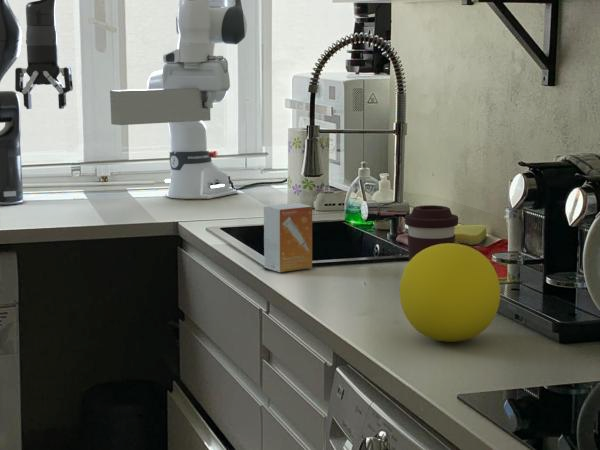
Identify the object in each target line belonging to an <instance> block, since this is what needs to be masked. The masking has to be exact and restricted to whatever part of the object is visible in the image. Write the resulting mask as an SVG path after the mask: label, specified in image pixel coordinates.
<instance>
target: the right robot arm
mask: <svg viewBox="0 0 600 450" xmlns="http://www.w3.org/2000/svg"><path fill="white" fill-rule="evenodd" d="M242 4H243V3H242V0H178V7H177V16H176V17H175V24H176V26H175V27H176V28H175V29H176V35H177V36H178V42H177V46H176V47H177V48H176V49H174V50H172V51H170V52H168V53H165V54H163V56H162V61H163V63H164V64H163V66H162V69H161V70H156V71H153V72H152V73H151V74H150V76H149V77H148V80H147V83H146V87H147V88H146V89H177V88H198V89H199V91H207V95H209V97H208V100H207V102H204V104H205V108H210V109H213V107H214V105H215V104H220V103H222V102H223V101H224V100H225V98H226V96H227V94H228V91H229V89H230V88H231V81H230V80H231V79H230V72H229V62H228V60H227V59H226V57H224V56H223V55H214V51H215V45H216V44H226V45H238V44H240V43H241V42H242V41H243V40H244V39H245V38H246V35H247V29H248V24H247V18H246V15H245V13H244V10H243V5H242ZM167 124H168V129H169V138H170V141H169V142H170V150H169V165H170V176H169V178H167V179H164V182H165V183H169V184H168V189H167V194H166V197H168V198H172V199H186V200H189V199H190V200H191V199H195V200H196V199H201V200H202V199H215V198H219V197H224V196H229V195H234V194H238V191H241V190H244V189H247V188H251V187H255V186H260V185H280V184H281V185H282V184H285V183H287V182H288V181H287V178H285V179H284V180H280V181H279V180H278V181H259V182H253V183H249V184H245V185H243V186H241V187H235V185H234V183H233V181H232V180H231V176H230V175H228V174H227V173H226V172H225V171H224V170H222V168H220V167H218V166H217V165H216V163H214V162H213V161H212V158H214V159H216V158H217V157H218V155H219V154H218V151H216V150H210V151H209V150H208V144H207V137H208V136H207V126H206V124H205V123H204V121H190V122H171V123H167ZM230 186H231V188H230Z"/></svg>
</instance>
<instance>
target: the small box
mask: <svg viewBox="0 0 600 450" xmlns="http://www.w3.org/2000/svg"><path fill="white" fill-rule="evenodd" d="M263 248H264V249H263V257H264V258H263V259H264V266H263V267H264V268H266V269H267V270H270V271H274V272H278V273H285V272H290V271H291V272H292V271H298V270H299V271H300V270H307V269H308V270H309V269H312V268H313V206H312V205H308V204H303V203H299V202H291V203H279V204H278V203H277V204H273V205H264V206H263Z"/></svg>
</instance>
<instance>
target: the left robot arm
mask: <svg viewBox="0 0 600 450" xmlns="http://www.w3.org/2000/svg"><path fill="white" fill-rule="evenodd" d="M56 1H57V0H34V1H30V2H27V4H26V5H25V19H26V23H25V24H26V30H25V31H26V33H25V34H26V35H25V44H26V59H27V61H26V62H27V67H26V68H24V67H16V68H15V69H14V72H15V73H14V79H15V80H14V81H15V82H14V88H15V89H14V90H15V91H14V90H0V123H1V124H3V123H4V127H3V128H2V129H0V206H11V205H21V204H23V203H24V202H25V201H24V187H23V170H22V169H23V168H22V167H23V166H22V151H21V136H22V135H21V131H22V130H21V101H20V97H19V95H18V93H21V94H22V96H23V106H24V108H26V110H32V109H33V107H32V106H33V105H32V94H31V92H32V90H33V88H35V87H36V85H37V86H43V85H46V86H49V85H51V86H52V87H53V88H55V90H56V91H57V92H58V94H57V99H58V100H57V101H58V109H59V110H64V109H65V107H67V93H69V92H72V91H73V90H74V85H73V76H72V68H71V67H70V66H66V67H65V66H64V67H61V68H60V66H59V52H58V34H57V29H56V12H55V10H56ZM22 29H23V28H22V27H21V23H20V22H19V20H18V18H17V16H16V15H15V13H14V11H13V10H12V8H11V6H10V4H9V1H8V0H0V83H1V82H2V80H3V78H4V77H5V75H6V74H7V73H8V72H9V70H10V69H11V68H12V66H13V65H14V63H15V62H16V61H17V60H18V58H19V56H20V53H21V49H22V38H23V30H22ZM26 74H27V76H28V77H29V79H28V80H27V82H26V83H25V85H24V77H25V76H26ZM60 74H61V76H62V77H64V78H63V79H64V86H63V84H62V82H61V80H59V78H58V77H59V75H60Z"/></svg>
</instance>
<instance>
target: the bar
mask: <svg viewBox="0 0 600 450" xmlns="http://www.w3.org/2000/svg"><path fill="white" fill-rule="evenodd" d="M208 97H209V95H207V91H199V89H198V88H177V89H147V88H146V89H119V90H118V89H117V90H116V89H115V90H109V101H110V103H109V104H110V120H111V121H110V122H111V123H110V124H111V125H113V126H115V125H116V126H129V125H150V124H168V123H171V122H190V121H202V122H207V121H211V108H205V104H204V102H207V100H208Z"/></svg>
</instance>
